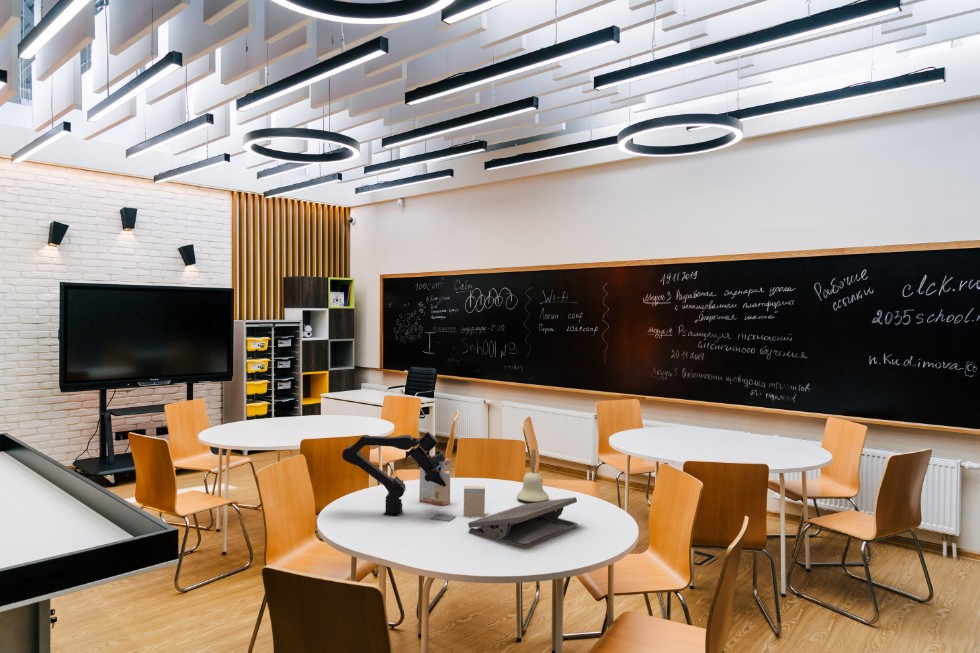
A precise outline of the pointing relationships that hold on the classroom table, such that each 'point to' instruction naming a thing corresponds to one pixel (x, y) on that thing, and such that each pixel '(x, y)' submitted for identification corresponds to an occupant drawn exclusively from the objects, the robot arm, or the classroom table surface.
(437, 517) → the mat
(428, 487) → the cracker box
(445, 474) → the stub
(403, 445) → the robot arm
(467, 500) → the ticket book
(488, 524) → the foot rest
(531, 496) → the handbell
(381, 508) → the classroom table surface
